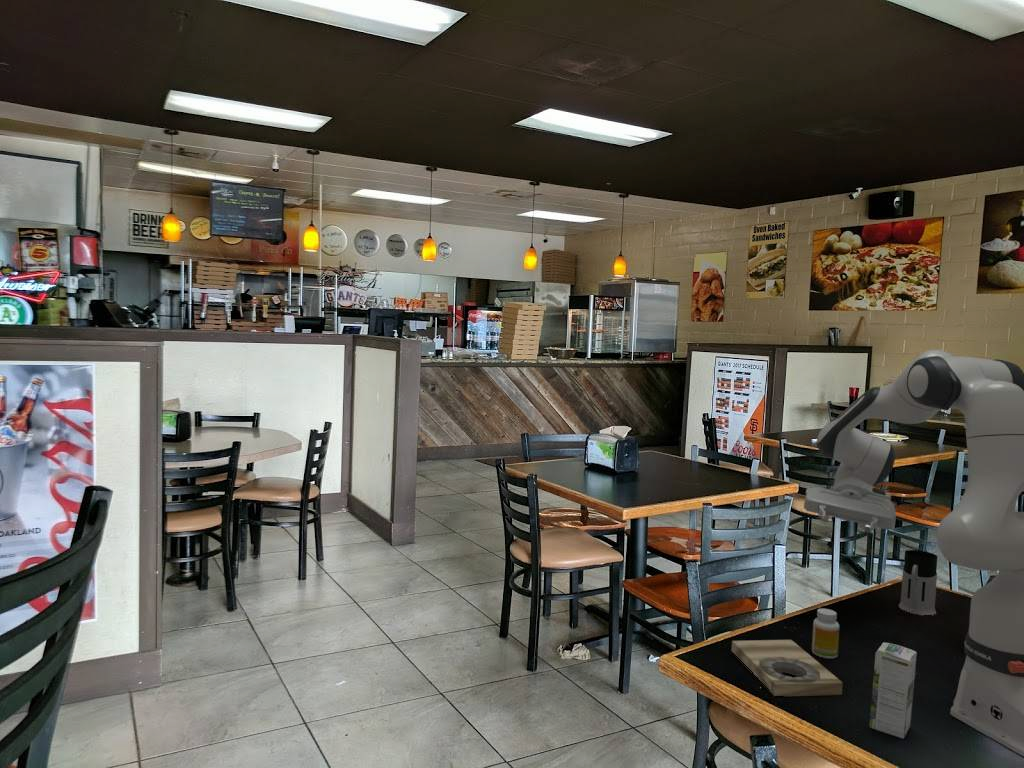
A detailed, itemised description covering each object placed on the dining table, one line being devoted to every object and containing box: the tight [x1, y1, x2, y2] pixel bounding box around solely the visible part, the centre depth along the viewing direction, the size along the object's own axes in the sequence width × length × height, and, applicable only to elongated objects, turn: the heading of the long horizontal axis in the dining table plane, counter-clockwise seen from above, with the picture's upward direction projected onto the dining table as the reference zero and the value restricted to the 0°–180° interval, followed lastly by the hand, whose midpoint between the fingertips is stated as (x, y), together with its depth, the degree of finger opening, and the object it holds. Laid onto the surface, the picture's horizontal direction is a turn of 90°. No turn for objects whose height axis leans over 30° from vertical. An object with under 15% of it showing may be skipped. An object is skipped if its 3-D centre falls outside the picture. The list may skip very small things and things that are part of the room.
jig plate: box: [731, 639, 843, 697], centre depth 149 cm, size 20×14×2 cm
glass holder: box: [898, 549, 938, 616], centre depth 185 cm, size 9×14×15 cm, turn 141°
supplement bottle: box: [811, 608, 840, 660], centre depth 158 cm, size 5×5×10 cm
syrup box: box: [869, 642, 918, 740], centre depth 128 cm, size 6×6×14 cm
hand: (846, 524), depth 167 cm, fingers open, 8 cm apart
